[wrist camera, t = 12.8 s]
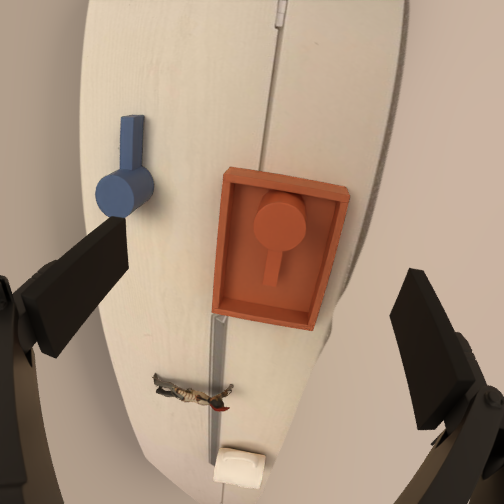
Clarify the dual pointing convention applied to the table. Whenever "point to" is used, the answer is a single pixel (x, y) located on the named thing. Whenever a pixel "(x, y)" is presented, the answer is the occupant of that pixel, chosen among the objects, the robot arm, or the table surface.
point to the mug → (239, 468)
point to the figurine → (192, 394)
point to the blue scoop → (126, 174)
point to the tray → (254, 254)
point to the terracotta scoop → (279, 228)
